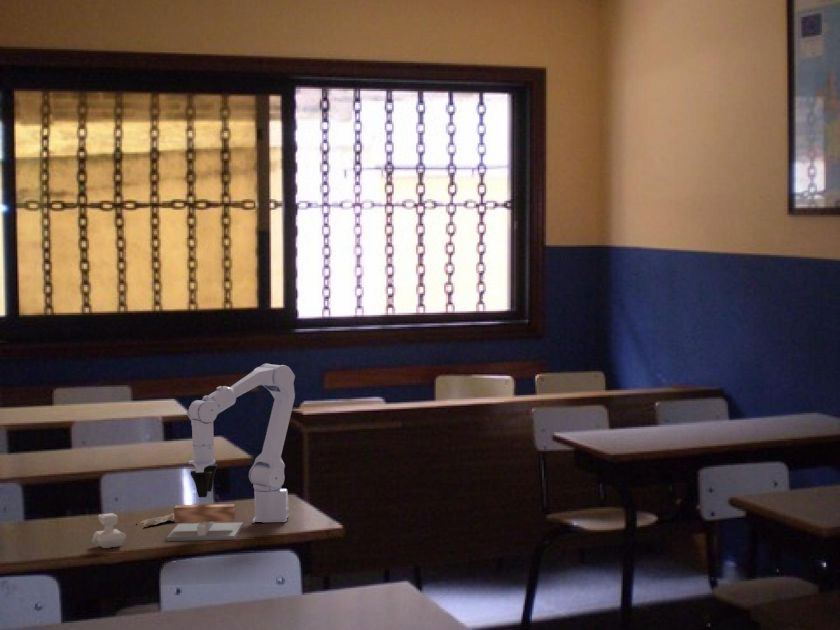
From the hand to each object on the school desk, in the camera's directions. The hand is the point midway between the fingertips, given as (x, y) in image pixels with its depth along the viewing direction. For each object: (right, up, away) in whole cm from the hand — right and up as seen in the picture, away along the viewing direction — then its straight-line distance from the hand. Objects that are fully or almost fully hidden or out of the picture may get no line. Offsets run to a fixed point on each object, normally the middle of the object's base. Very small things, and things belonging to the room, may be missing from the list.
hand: (205, 494), depth 348 cm
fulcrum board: (0, -10, -1) cm, 10 cm away
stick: (0, -7, -1) cm, 7 cm away
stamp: (-23, -12, -14) cm, 29 cm away
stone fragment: (-12, -11, +16) cm, 23 cm away
